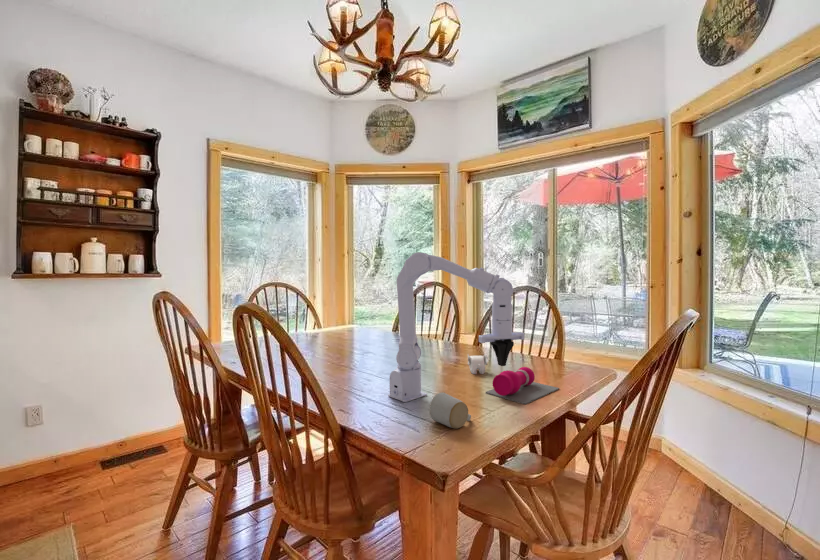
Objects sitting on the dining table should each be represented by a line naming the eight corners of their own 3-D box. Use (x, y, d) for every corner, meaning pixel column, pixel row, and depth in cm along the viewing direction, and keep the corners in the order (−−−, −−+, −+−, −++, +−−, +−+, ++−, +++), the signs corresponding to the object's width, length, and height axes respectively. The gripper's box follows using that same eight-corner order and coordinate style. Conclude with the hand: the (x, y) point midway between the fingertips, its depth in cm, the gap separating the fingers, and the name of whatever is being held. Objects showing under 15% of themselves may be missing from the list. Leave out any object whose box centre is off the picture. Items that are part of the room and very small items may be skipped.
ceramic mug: (450, 433, 98) (451, 403, 98) (428, 423, 104) (428, 395, 104) (478, 423, 105) (478, 394, 104) (455, 414, 111) (456, 387, 110)
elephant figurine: (484, 368, 157) (484, 350, 156) (490, 375, 147) (490, 355, 147) (464, 368, 156) (464, 350, 156) (469, 375, 147) (468, 356, 147)
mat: (525, 404, 117) (525, 403, 117) (485, 393, 127) (485, 391, 127) (559, 389, 131) (559, 387, 131) (520, 380, 141) (520, 378, 141)
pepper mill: (512, 399, 119) (541, 386, 134) (512, 374, 119) (541, 364, 134) (490, 395, 124) (520, 383, 139) (490, 371, 124) (520, 362, 139)
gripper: (514, 316, 126) (514, 359, 127) (473, 319, 121) (473, 364, 122) (529, 319, 120) (528, 365, 120) (485, 322, 115) (485, 370, 115)
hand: (501, 365), depth 121 cm, fingers closed
